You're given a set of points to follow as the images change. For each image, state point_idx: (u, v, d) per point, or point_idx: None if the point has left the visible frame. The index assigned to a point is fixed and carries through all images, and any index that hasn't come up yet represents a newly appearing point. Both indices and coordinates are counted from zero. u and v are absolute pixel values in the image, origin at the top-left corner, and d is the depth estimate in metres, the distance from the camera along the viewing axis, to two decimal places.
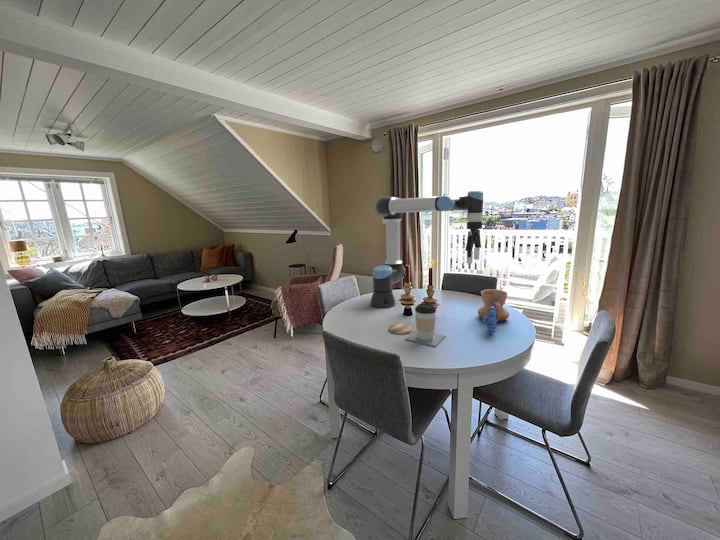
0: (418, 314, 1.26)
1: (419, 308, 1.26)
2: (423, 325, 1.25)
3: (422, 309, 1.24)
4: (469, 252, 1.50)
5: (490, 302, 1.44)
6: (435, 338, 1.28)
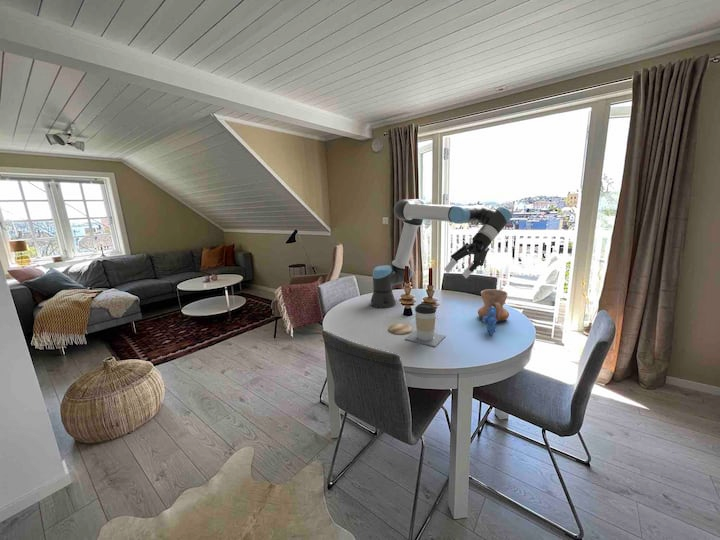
0: (418, 314, 1.26)
1: (419, 308, 1.26)
2: (423, 325, 1.25)
3: (422, 309, 1.24)
4: (475, 266, 1.22)
5: (490, 302, 1.44)
6: (435, 338, 1.28)
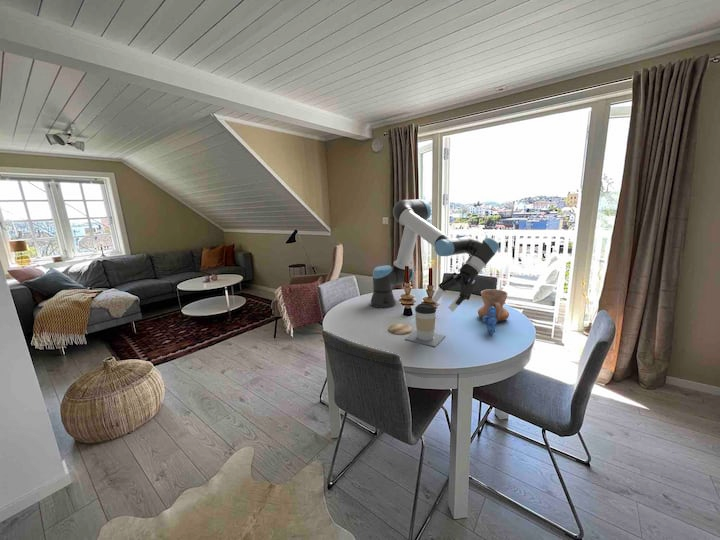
0: (418, 314, 1.26)
1: (419, 308, 1.26)
2: (423, 325, 1.25)
3: (422, 309, 1.24)
4: (461, 300, 1.21)
5: (490, 302, 1.44)
6: (435, 338, 1.28)
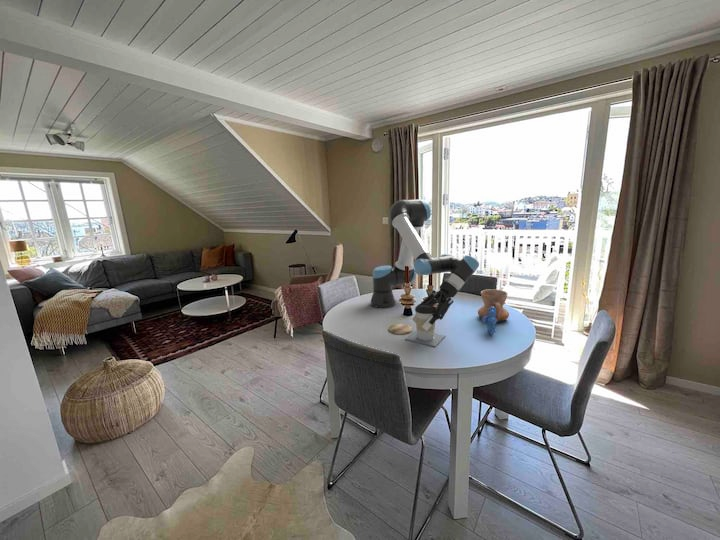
0: (418, 314, 1.26)
1: (419, 308, 1.26)
2: None
3: (422, 309, 1.24)
4: (435, 319, 1.22)
5: (490, 302, 1.44)
6: (435, 338, 1.28)
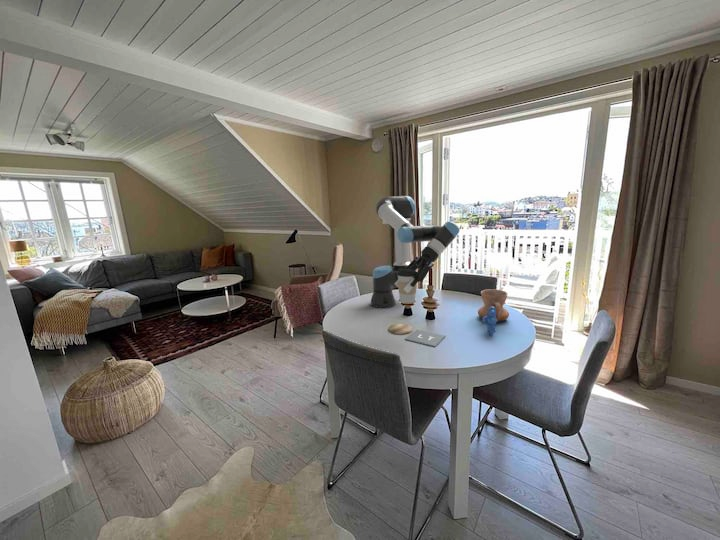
0: (400, 277, 1.30)
1: (401, 272, 1.30)
2: None
3: (404, 272, 1.29)
4: (416, 282, 1.27)
5: (490, 302, 1.44)
6: (435, 338, 1.28)
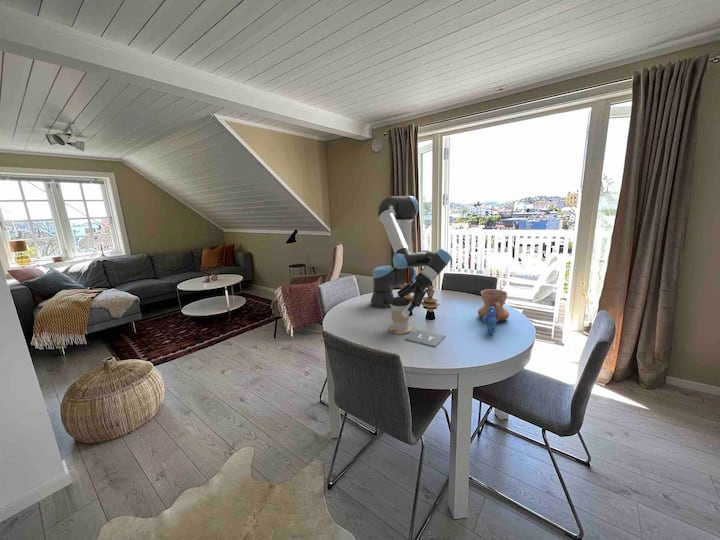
0: (393, 307, 1.36)
1: (394, 301, 1.36)
2: (397, 317, 1.36)
3: (396, 302, 1.35)
4: (413, 307, 1.31)
5: (490, 302, 1.44)
6: (435, 338, 1.28)
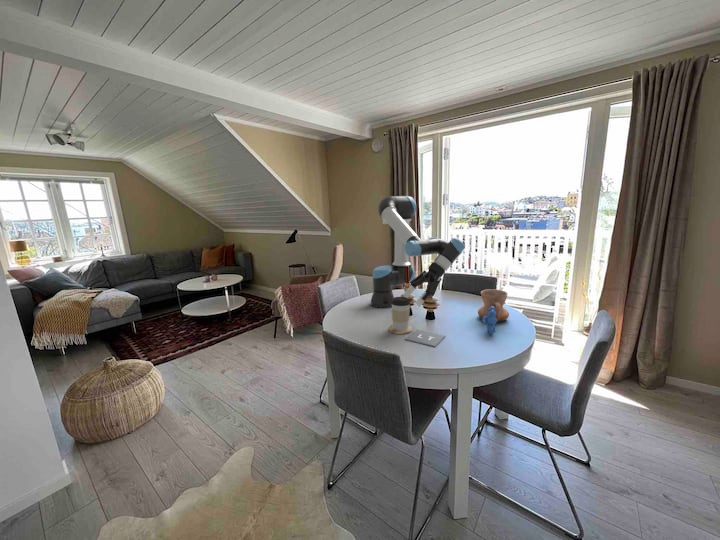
0: (393, 306, 1.36)
1: (394, 301, 1.36)
2: (398, 317, 1.36)
3: (397, 302, 1.35)
4: (427, 296, 1.31)
5: (490, 302, 1.44)
6: (435, 338, 1.28)
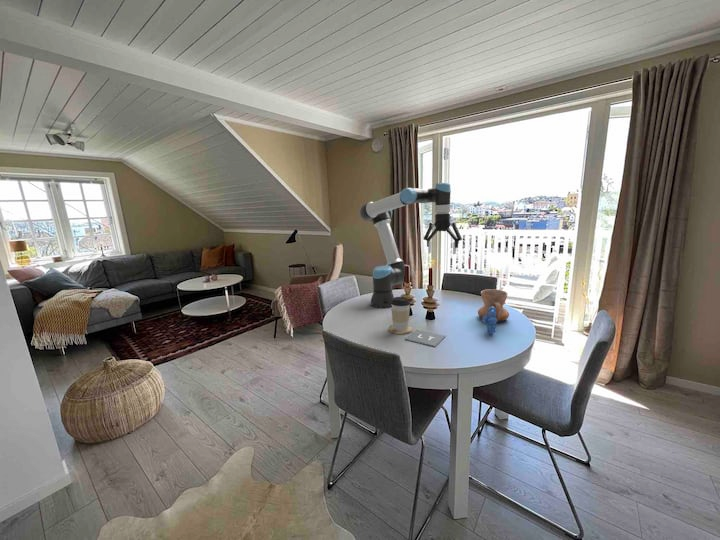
0: (393, 306, 1.36)
1: (394, 301, 1.36)
2: (398, 317, 1.36)
3: (397, 302, 1.35)
4: (457, 242, 1.52)
5: (490, 302, 1.44)
6: (435, 338, 1.28)
